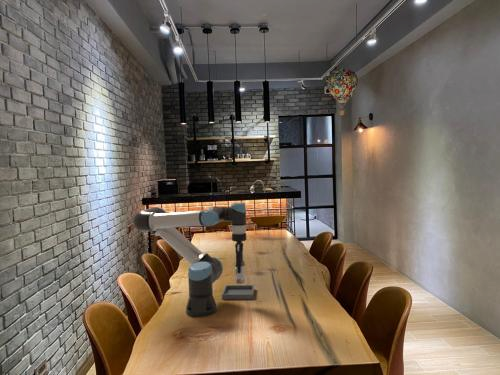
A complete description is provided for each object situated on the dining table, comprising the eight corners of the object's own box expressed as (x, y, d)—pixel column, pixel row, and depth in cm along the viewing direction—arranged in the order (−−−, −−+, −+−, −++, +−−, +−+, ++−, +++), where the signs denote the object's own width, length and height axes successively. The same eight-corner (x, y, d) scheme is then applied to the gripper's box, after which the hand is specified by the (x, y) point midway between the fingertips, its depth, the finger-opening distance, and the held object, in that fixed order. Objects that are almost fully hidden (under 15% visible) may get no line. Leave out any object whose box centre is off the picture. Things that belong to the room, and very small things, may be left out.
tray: (222, 299, 199) (221, 294, 199) (225, 289, 215) (225, 285, 215) (252, 299, 198) (252, 294, 198) (254, 289, 214) (254, 285, 214)
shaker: (234, 283, 190) (234, 264, 190) (235, 280, 195) (235, 261, 195) (244, 283, 190) (244, 263, 189) (245, 280, 195) (245, 261, 194)
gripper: (244, 236, 182) (245, 282, 183) (247, 229, 200) (248, 272, 201) (229, 236, 182) (230, 282, 184) (233, 229, 200) (234, 272, 202)
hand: (239, 277), depth 192 cm, fingers closed on shaker, 5 cm apart
